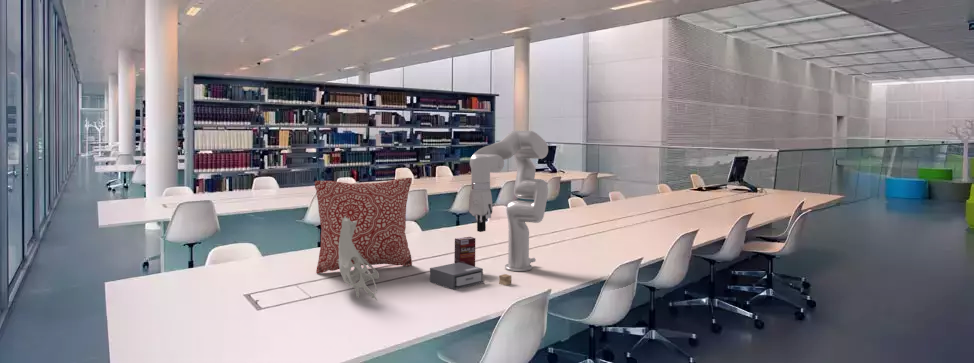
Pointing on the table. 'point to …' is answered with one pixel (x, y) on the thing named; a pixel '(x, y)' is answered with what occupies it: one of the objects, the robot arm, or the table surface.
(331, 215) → the pillow
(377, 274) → the sculpture
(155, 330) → the table surface
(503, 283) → the tan cube
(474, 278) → the tray
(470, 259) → the supplement box
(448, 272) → the box
